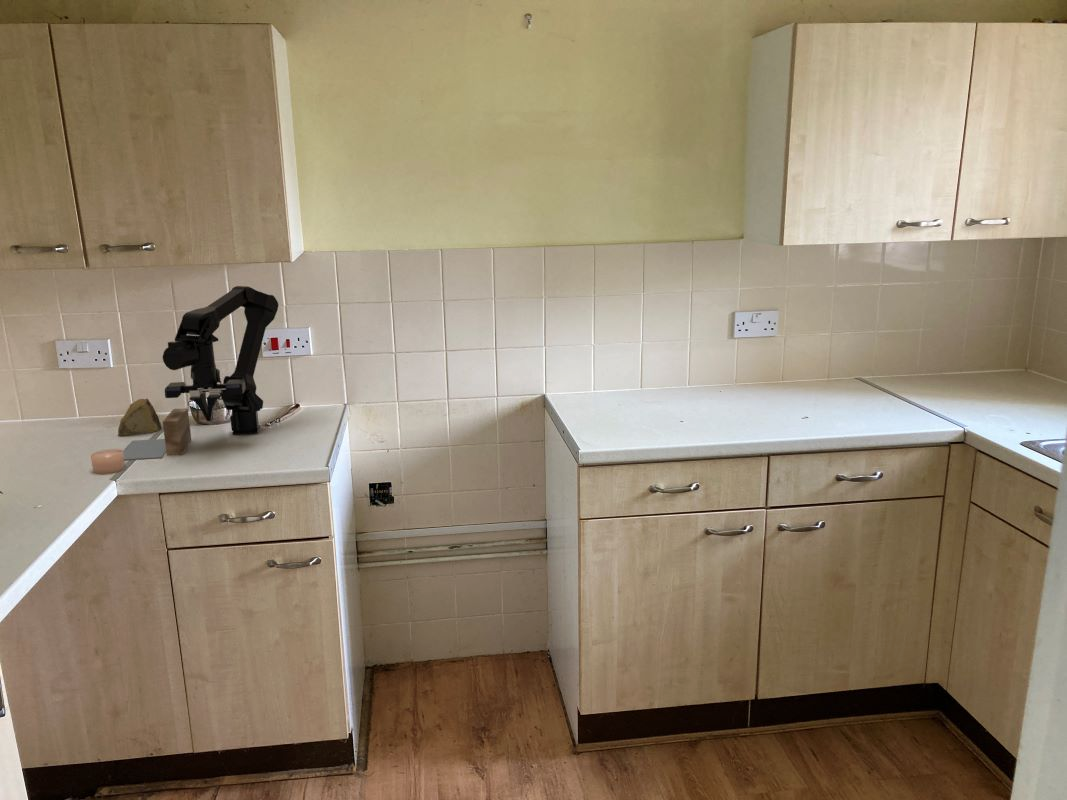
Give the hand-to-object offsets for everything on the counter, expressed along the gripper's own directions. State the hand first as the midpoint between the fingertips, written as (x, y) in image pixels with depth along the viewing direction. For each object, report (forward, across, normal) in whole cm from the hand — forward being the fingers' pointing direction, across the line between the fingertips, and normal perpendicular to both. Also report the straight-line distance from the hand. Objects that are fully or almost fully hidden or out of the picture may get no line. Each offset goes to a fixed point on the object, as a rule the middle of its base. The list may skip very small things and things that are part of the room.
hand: (209, 420), depth 216 cm
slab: (+7, +8, 0) cm, 11 cm away
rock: (+7, +22, -17) cm, 29 cm away
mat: (+7, +16, 0) cm, 17 cm away
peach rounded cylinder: (+7, +21, +14) cm, 26 cm away
